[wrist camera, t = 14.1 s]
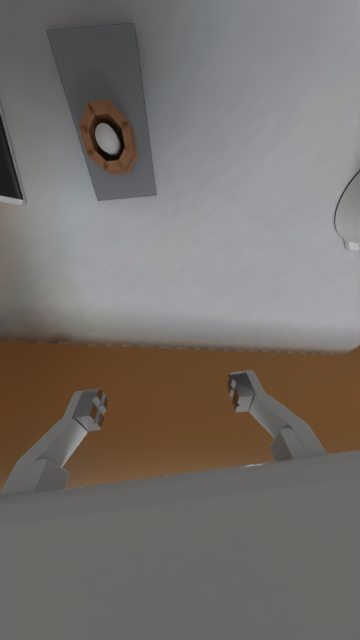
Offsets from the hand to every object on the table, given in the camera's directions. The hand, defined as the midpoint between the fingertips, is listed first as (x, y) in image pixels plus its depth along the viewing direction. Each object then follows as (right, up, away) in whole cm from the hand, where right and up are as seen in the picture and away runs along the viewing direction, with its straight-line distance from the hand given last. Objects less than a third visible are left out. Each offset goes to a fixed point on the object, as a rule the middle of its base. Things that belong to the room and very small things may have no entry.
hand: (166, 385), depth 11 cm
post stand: (-9, +32, +14) cm, 36 cm away
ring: (-9, +30, +14) cm, 34 cm away
